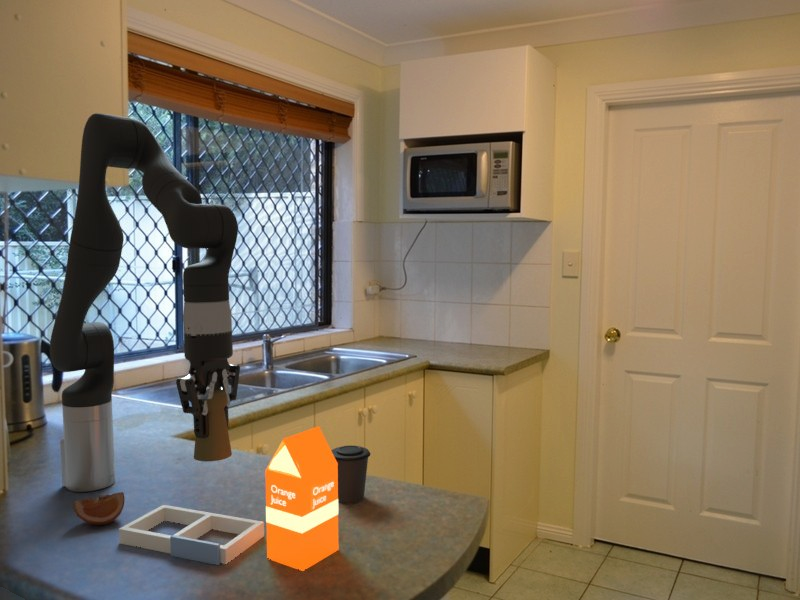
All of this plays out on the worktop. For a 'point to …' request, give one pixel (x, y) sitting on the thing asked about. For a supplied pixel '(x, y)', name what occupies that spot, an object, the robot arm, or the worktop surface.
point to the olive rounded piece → (214, 431)
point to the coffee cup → (351, 472)
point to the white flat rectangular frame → (192, 534)
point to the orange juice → (302, 501)
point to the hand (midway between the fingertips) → (211, 432)
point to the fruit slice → (100, 508)
